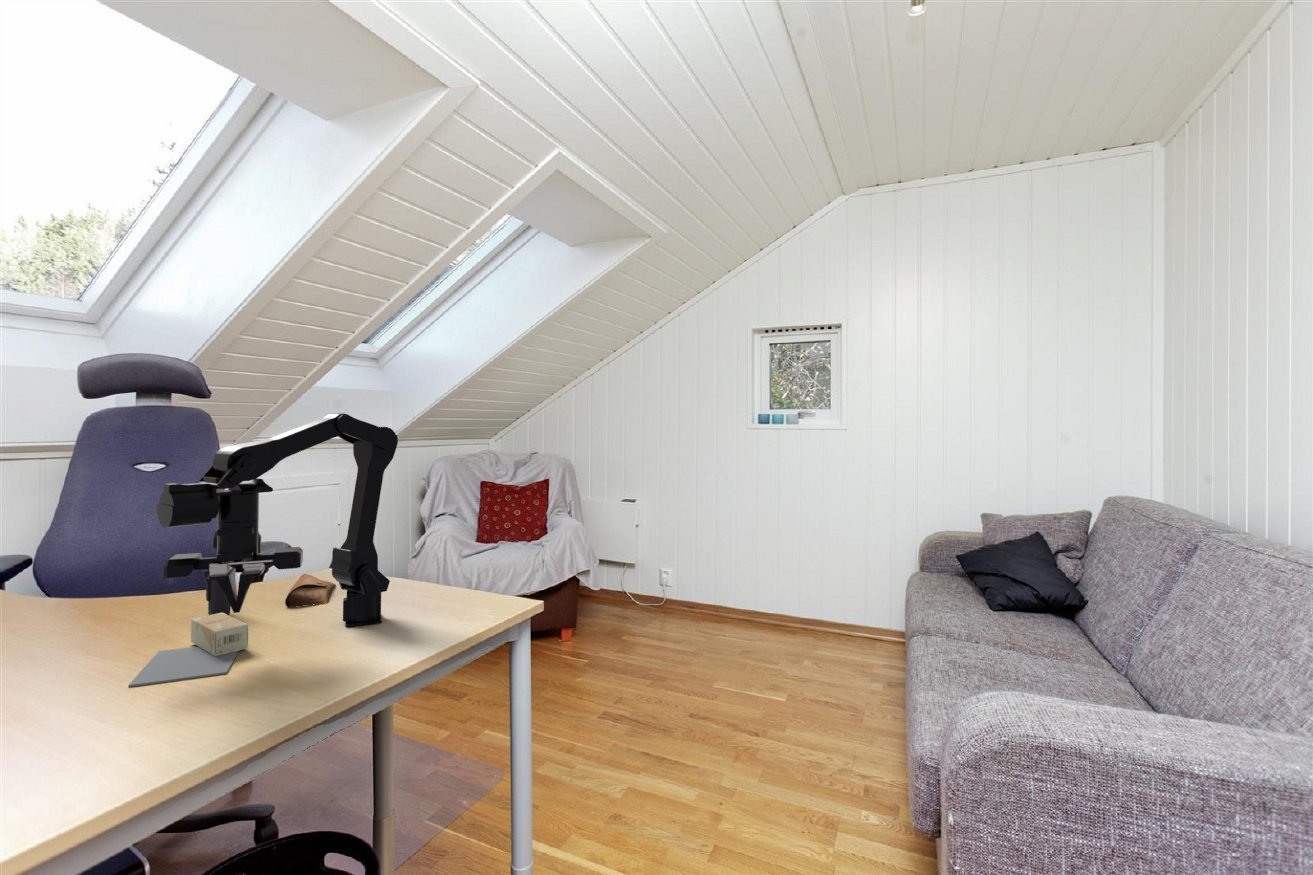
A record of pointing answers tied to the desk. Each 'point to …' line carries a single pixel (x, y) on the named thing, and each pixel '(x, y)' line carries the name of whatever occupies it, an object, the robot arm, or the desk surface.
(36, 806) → the desk surface
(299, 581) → the sunglasses case
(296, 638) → the desk surface
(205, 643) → the box
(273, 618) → the desk surface
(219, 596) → the two-way radio
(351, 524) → the robot arm
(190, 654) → the felt pad
